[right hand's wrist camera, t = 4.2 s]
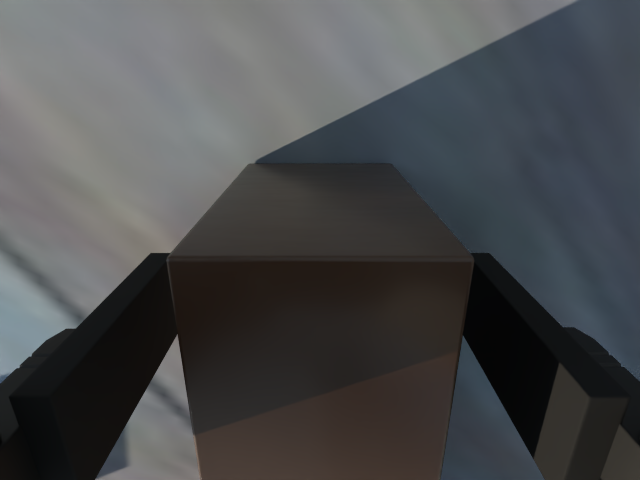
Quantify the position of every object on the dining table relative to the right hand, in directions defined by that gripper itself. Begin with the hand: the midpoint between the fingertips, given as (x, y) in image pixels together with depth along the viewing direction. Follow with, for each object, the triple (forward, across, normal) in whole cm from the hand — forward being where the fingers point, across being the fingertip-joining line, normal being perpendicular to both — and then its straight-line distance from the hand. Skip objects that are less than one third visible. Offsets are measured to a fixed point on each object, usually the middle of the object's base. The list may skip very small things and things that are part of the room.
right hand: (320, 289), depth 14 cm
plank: (+2, 0, -11) cm, 11 cm away
